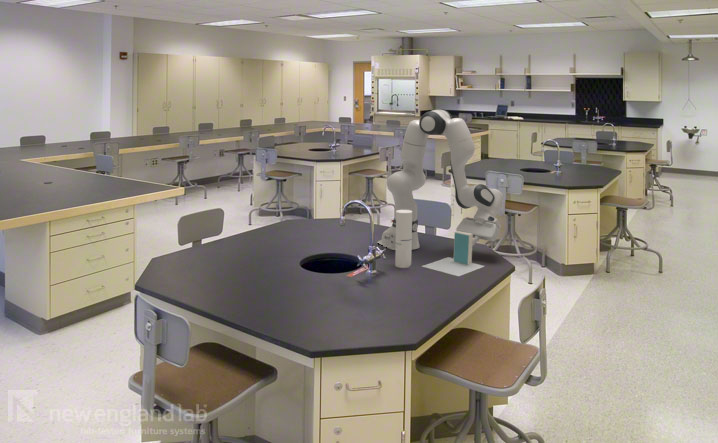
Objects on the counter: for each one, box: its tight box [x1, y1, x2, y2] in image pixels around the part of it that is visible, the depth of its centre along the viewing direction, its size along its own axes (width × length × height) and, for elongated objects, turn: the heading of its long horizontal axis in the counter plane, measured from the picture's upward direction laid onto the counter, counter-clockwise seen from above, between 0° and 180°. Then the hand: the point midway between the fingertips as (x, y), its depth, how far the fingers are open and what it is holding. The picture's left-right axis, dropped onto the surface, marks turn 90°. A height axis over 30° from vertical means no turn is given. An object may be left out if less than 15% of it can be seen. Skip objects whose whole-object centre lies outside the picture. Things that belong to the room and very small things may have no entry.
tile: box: [453, 231, 474, 265], centre depth 253 cm, size 8×3×14 cm, turn 45°
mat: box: [421, 256, 486, 277], centre depth 250 cm, size 20×20×1 cm
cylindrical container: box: [394, 210, 412, 269], centre depth 251 cm, size 7×7×25 cm
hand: (470, 244), depth 257 cm, fingers closed
